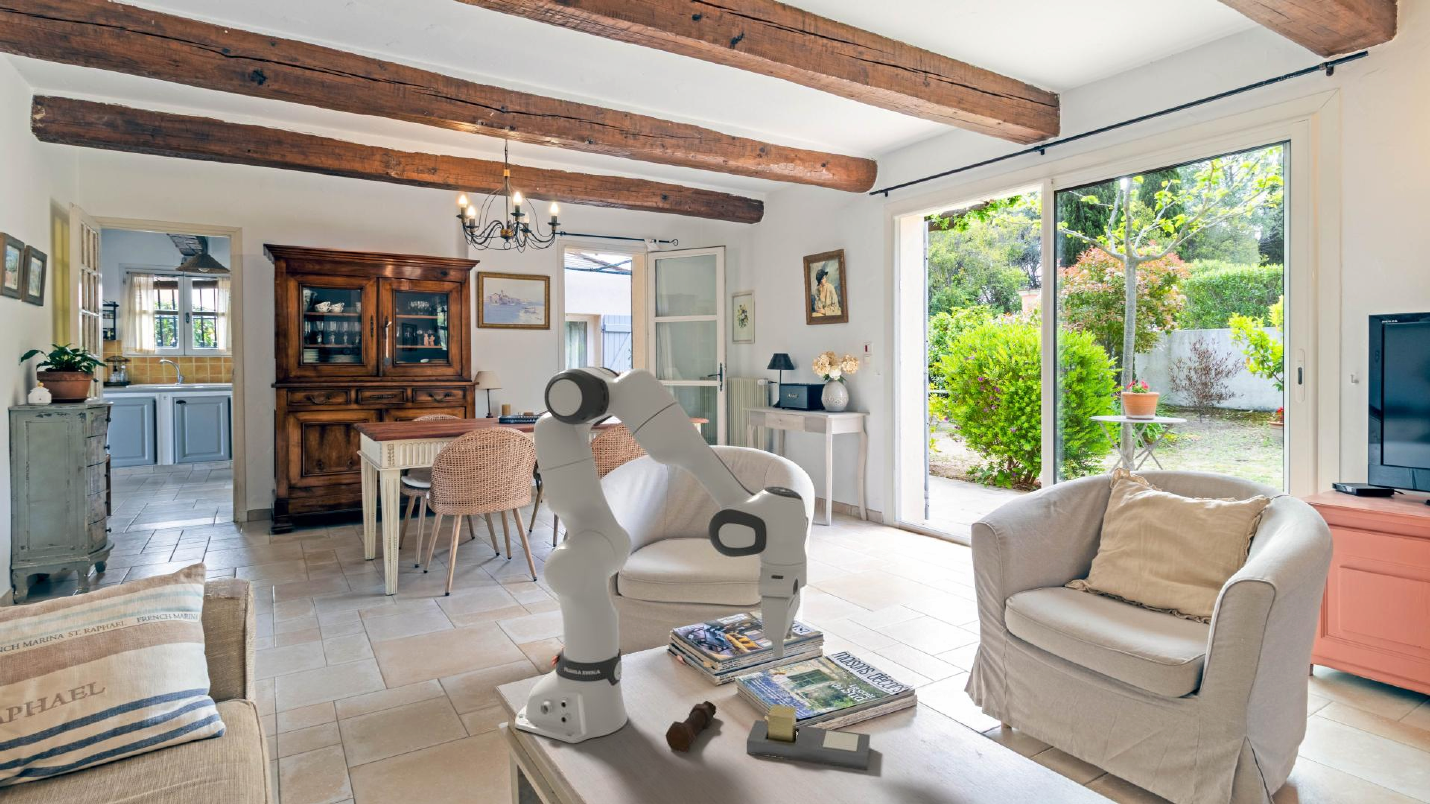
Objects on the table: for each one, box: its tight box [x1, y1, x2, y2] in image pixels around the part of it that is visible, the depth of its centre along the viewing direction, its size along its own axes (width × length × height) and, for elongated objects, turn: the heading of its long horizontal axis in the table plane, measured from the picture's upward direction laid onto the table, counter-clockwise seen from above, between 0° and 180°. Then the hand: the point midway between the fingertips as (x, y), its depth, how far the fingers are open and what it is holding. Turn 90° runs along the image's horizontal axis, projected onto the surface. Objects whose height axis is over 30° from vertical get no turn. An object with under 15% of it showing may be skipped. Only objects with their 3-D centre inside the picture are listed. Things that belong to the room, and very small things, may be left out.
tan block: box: [767, 703, 797, 743], centre depth 140 cm, size 4×4×7 cm
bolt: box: [664, 700, 717, 753], centre depth 146 cm, size 6×5×15 cm
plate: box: [746, 719, 871, 771], centre depth 139 cm, size 22×8×3 cm, turn 75°
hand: (783, 647), depth 139 cm, fingers open, 8 cm apart
